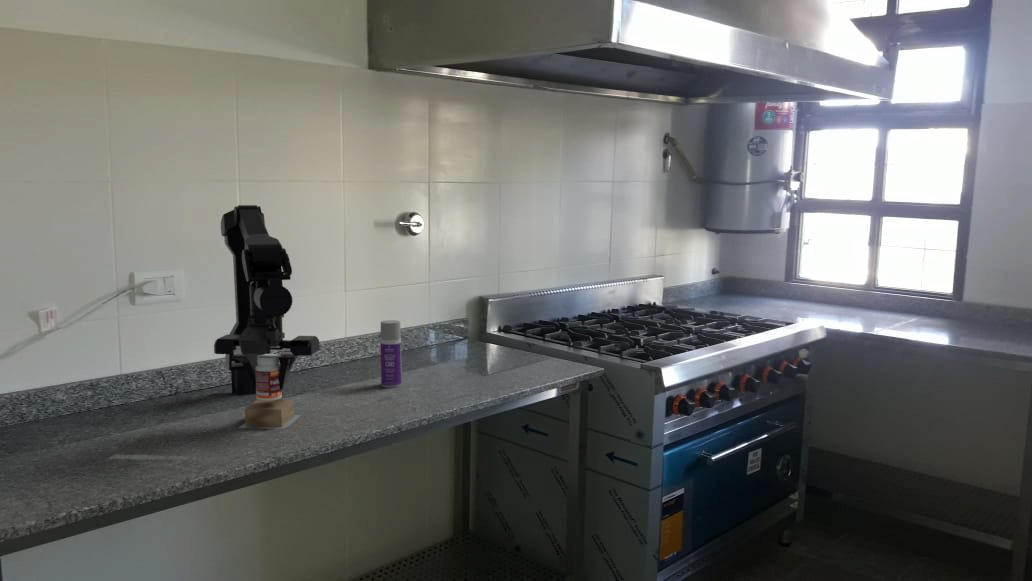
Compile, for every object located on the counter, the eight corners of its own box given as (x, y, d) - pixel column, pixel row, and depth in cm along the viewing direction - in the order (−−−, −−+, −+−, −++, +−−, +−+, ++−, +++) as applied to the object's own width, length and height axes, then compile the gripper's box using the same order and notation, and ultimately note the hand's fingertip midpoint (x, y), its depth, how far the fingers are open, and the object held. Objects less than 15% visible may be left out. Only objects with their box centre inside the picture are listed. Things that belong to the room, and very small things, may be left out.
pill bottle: (274, 402, 150) (273, 359, 149) (251, 400, 151) (250, 357, 150) (286, 395, 155) (285, 353, 154) (264, 394, 156) (263, 352, 155)
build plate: (232, 432, 149) (232, 428, 149) (256, 413, 161) (256, 410, 161) (321, 433, 148) (321, 430, 148) (338, 415, 160) (338, 412, 160)
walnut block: (245, 426, 150) (244, 408, 150) (259, 415, 157) (258, 399, 157) (281, 427, 150) (281, 409, 149) (294, 416, 157) (293, 399, 156)
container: (384, 388, 181) (383, 324, 179) (378, 384, 185) (377, 320, 183) (404, 386, 183) (403, 322, 182) (397, 381, 188) (396, 319, 186)
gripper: (199, 315, 143) (203, 399, 145) (300, 316, 142) (303, 401, 144) (224, 305, 154) (228, 383, 156) (319, 307, 153) (321, 385, 155)
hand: (269, 388), depth 153 cm, fingers closed on pill bottle, 5 cm apart
